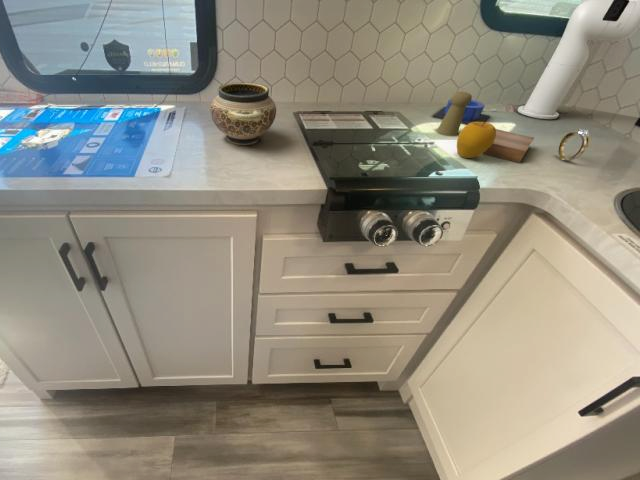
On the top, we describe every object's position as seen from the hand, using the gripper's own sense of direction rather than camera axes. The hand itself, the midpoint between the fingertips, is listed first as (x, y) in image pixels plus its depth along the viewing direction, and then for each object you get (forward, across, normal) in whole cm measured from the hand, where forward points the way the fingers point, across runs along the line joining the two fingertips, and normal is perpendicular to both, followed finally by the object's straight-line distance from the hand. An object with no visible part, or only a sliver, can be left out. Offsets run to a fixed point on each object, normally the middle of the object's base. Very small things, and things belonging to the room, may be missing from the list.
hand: (609, 19), depth 92 cm
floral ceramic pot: (+28, -74, +66) cm, 103 cm away
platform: (+28, -28, +8) cm, 41 cm away
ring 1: (+28, -4, +24) cm, 37 cm away
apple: (+28, -41, +13) cm, 52 cm away
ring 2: (+28, -24, -8) cm, 38 cm away
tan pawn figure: (+28, -24, +23) cm, 44 cm away
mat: (+28, -4, +24) cm, 37 cm away
